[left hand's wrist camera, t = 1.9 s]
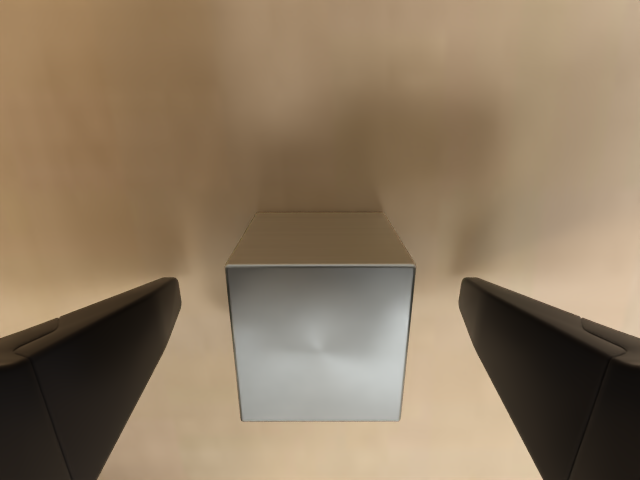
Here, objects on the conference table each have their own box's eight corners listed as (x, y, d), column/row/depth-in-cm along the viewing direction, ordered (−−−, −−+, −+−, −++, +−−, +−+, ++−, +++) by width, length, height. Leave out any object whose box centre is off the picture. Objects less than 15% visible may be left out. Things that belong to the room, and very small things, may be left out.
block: (384, 211, 12) (417, 264, 8) (377, 328, 13) (401, 423, 9) (256, 211, 12) (223, 264, 8) (264, 328, 13) (239, 423, 9)
